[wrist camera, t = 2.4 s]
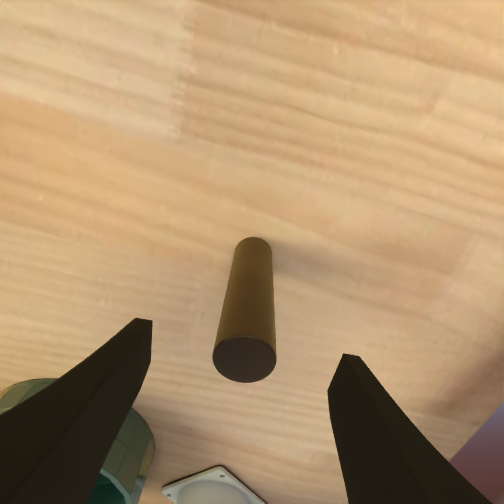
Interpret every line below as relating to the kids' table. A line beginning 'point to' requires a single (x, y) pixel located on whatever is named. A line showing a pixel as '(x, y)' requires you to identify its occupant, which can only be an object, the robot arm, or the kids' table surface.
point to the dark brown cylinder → (247, 316)
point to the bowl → (119, 457)
